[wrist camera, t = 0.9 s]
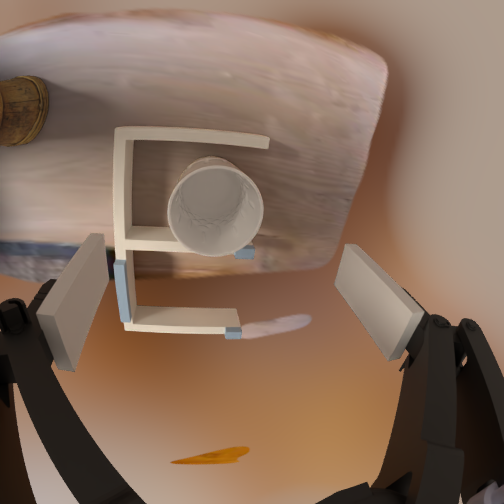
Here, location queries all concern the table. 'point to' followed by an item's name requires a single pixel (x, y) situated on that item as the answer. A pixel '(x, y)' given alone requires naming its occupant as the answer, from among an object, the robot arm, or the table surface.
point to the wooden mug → (22, 109)
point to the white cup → (214, 208)
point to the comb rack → (163, 237)
